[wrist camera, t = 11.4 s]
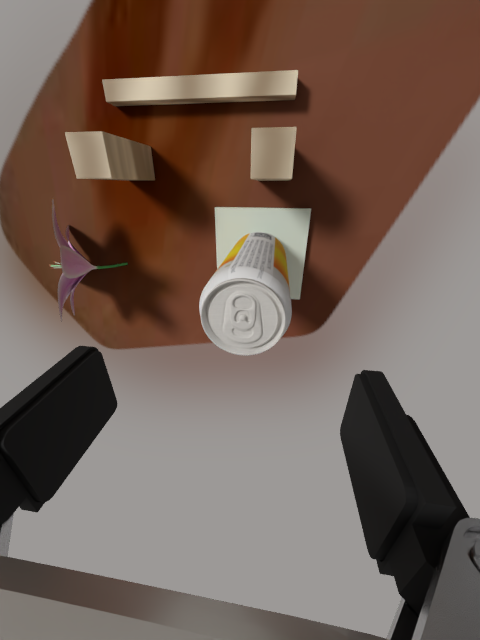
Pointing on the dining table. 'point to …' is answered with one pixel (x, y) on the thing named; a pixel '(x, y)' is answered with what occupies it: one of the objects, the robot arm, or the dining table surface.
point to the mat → (275, 221)
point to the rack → (135, 158)
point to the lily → (70, 266)
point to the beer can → (248, 297)
